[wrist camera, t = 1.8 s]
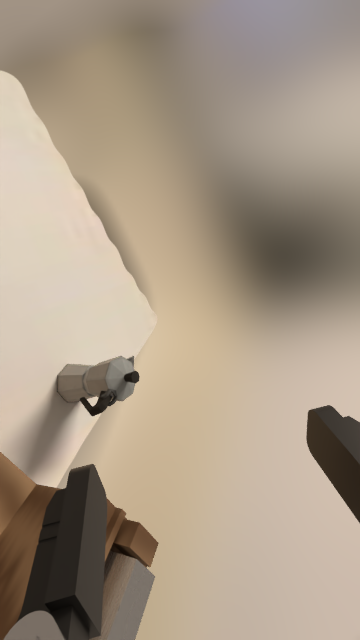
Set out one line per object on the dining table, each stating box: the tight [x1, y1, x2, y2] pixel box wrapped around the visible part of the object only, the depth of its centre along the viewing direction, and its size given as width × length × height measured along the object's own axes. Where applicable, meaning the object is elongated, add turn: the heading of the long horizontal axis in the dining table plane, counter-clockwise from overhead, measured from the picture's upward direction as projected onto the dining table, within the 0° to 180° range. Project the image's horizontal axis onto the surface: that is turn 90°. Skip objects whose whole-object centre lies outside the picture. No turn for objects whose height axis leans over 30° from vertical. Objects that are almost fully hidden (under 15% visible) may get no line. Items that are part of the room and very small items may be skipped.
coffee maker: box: [57, 356, 139, 416], centre depth 59 cm, size 15×9×18 cm, turn 144°
